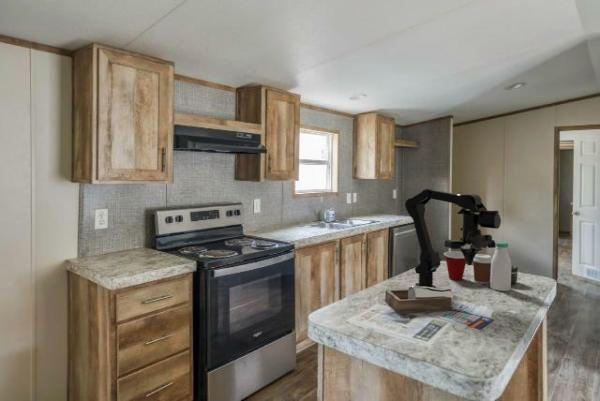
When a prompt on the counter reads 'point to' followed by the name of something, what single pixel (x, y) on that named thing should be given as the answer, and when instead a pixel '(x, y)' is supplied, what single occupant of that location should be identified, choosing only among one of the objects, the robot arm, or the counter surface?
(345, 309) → the counter surface
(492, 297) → the counter surface
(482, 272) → the coffee cup
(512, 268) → the jar
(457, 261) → the plastic cup
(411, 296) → the beer glass
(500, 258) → the milk bottle
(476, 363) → the counter surface
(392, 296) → the wooden tray
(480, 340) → the counter surface
